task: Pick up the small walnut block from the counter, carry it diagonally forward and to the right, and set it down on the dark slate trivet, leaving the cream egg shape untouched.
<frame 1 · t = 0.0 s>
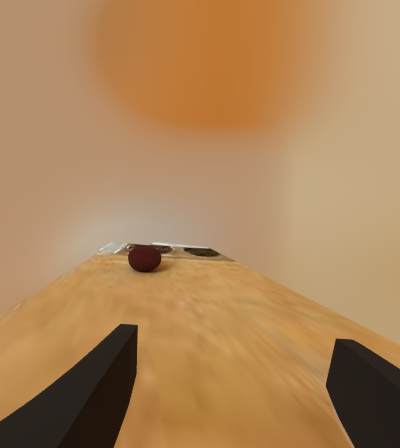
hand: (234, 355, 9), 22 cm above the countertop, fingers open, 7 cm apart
maroon ball: (144, 270, 84), on the countertop
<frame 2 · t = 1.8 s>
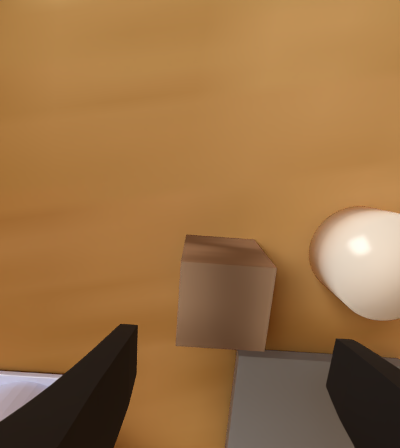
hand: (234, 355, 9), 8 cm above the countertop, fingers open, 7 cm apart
cream egg shape: (352, 250, 17), on the countertop
slate trivet: (304, 419, 20), on the countertop
walnut block: (217, 268, 17), on the countertop
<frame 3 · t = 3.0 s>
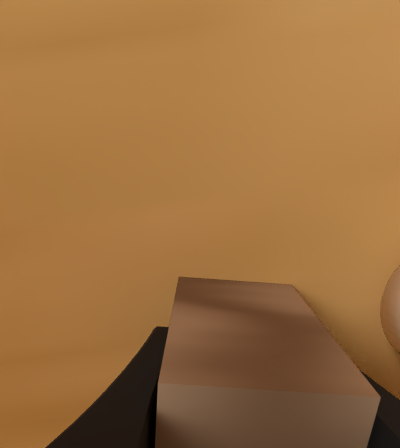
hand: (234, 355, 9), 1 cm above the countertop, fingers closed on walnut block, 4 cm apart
walnut block: (229, 330, 10), on the countertop, touching gripper
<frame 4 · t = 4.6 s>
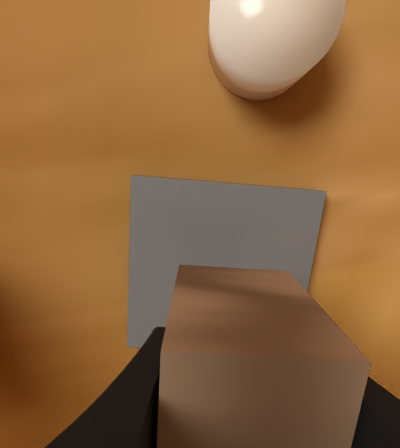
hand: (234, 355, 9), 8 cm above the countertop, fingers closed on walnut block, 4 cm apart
cream egg shape: (259, 44, 14), on the countertop
slate trivet: (218, 269, 17), on the countertop
walnut block: (229, 317, 11), point 7 cm above the countertop, touching gripper
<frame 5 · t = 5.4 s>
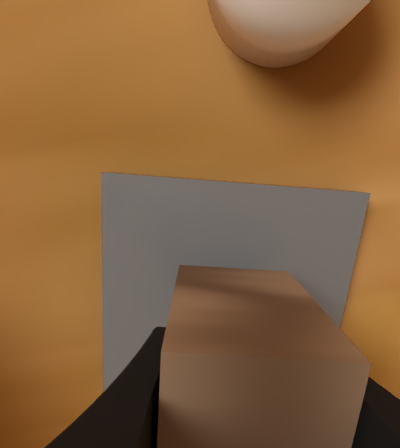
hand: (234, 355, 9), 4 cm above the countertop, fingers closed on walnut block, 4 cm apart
slate trivet: (222, 296, 13), on the countertop
walnut block: (229, 317, 11), point 2 cm above the countertop, touching gripper
when the fingers open (3 cm above the countertop, at t = 6.1 s): walnut block stays where it is, resting on slate trivet.
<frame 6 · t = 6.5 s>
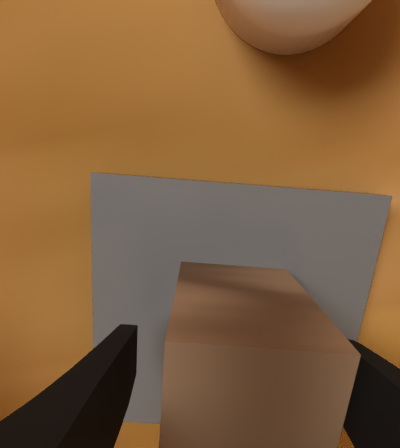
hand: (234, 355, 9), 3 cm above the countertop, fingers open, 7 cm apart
slate trivet: (225, 309, 12), on the countertop
walnut block: (228, 312, 11), point 1 cm above the countertop, touching slate trivet
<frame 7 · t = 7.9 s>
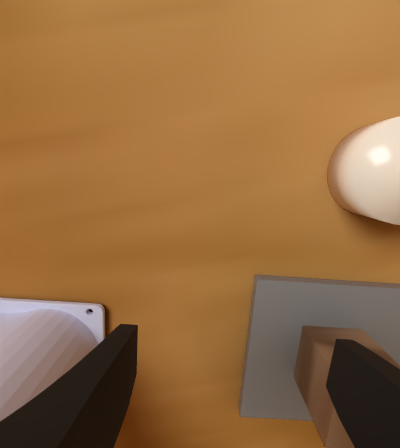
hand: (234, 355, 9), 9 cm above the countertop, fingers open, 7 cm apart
cream egg shape: (370, 170, 17), on the countertop
slate trivet: (321, 350, 20), on the countertop
walnut block: (327, 353, 19), point 1 cm above the countertop, touching slate trivet
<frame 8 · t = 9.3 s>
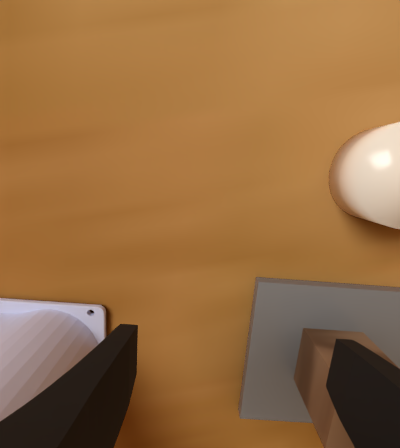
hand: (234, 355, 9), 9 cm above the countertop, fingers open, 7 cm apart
cream egg shape: (372, 174, 17), on the countertop
slate trivet: (321, 352, 20), on the countertop
walnut block: (327, 356, 19), point 1 cm above the countertop, touching slate trivet
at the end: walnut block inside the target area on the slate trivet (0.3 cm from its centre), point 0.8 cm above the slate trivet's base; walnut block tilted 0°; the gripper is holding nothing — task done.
